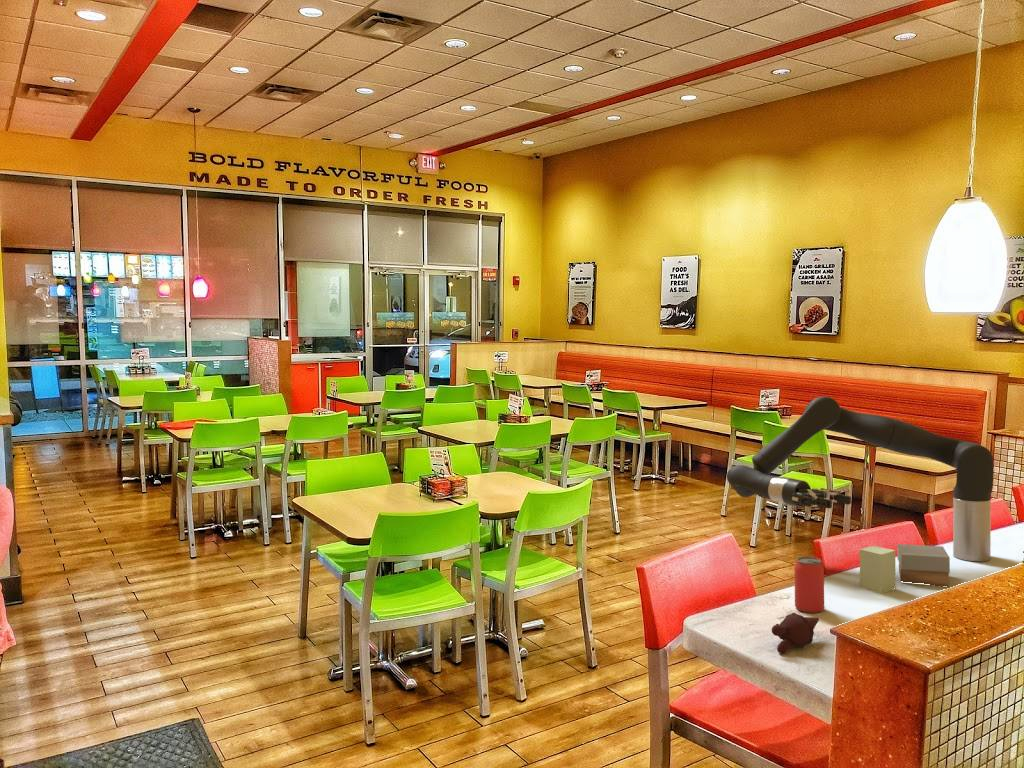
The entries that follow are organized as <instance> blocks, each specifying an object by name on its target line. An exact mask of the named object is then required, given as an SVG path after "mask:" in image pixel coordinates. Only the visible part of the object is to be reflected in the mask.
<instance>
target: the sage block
mask: <svg viewBox="0 0 1024 768" xmlns="http://www.w3.org/2000/svg"><path fill="white" fill-rule="evenodd" d="M896 587H897V586H896V550H895V549H891V548H885V547H881V546H877V545H871V546H867V547H864V548H860V549H859V588H860V589H865V590H868V591H871V592H874V593H878V594H884V593H888V592H891V591H893V590H892V589H894V588H896ZM890 590H891V591H890ZM894 590H895V589H894ZM887 591H888V592H887Z"/></svg>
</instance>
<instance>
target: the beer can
mask: <svg viewBox="0 0 1024 768" xmlns="http://www.w3.org/2000/svg"><path fill="white" fill-rule="evenodd" d="M793 569H794V576H793V577H794V606H795V608H796V609H797V610H798V611H801V612H803V613H808V614H817V613H821V612H823V611H824V610H825V569H824V566H823V562H822V559H820V558H817V557H814V556H813V557H812V556H801V557H797V558H796V561H795V564H794V568H793Z"/></svg>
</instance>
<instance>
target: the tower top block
mask: <svg viewBox="0 0 1024 768" xmlns="http://www.w3.org/2000/svg"><path fill="white" fill-rule="evenodd" d="M896 547H897V548H896V549H897V552H896V553H897V554H896V555H897V560H898V565H899V564H900V566H901V569H902V570H915V571H929V572H944V573H949V574H950V572H951V571H950V567H951V566H950V564H951V563H950V561H951V560H950V559H951V558H950V555H949V554H948V553H947V551H946V549H945V548H944V546H942V545H941V546H939V545H938V546H937V545H926V544H925V545H924V544H923V545H921V544H906V543H905V544H904V543H897V546H896Z"/></svg>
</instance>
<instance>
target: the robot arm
mask: <svg viewBox="0 0 1024 768" xmlns="http://www.w3.org/2000/svg"><path fill="white" fill-rule="evenodd" d="M824 430H826V431H831V432H835V433H839V434H843V435H846V436H850V437H852V438H855V439H858V440H860V441H863V442H865V443H868V444H870V445H872V446H873V445H874V446H876V447H878V448H883V449H886V450H889V451H891V452H895V453H899V454H903V455H907V456H913V457H914V456H915V457H922V458H926V459H931V460H935V461H937V462H939V463H942V464H945V465H947V466H949V467H952V468H954V469H956V483H955V486H954V487H953V491H952V497H953V500H952V501H953V505H952V507H953V513H952V514H953V517H952V519H953V522H952V526H953V528H952V533H953V535H952V536H953V538H952V543H953V544H952V550H953V551H952V553H953V554H952V556H954V557H955V558H957V559H960V560H962V561H963V560H964V561H971V562H987V561H990V560H991V545H992V544H991V543H992V542H991V541H992V540H991V538H992V537H991V533H992V532H991V523H992V522H991V520H992V519H991V517H992V516H991V512H992V510H991V508H992V507H991V494H992V492H993V489H994V475H995V474H994V471H995V470H994V468H995V464H994V457H993V454H992V453H991V450H989V449H988V448H987V447H985V446H984V445H981V444H979V443H977V442H973V441H967V440H963V439H962V440H961V439H956V438H951V437H947V436H943V435H940V434H936V433H934V432H932V431H929V430H928V429H926V428H925V429H924V428H922V427H920V426H917V425H915V424H912V423H909V422H907V421H903V420H900V419H896V418H893V417H888V416H884V415H883V416H882V415H877V414H876V415H875V414H871V413H869V414H868V413H863V412H857V411H852V410H849V409H846V408H843V407H841V406H840V404H839V402H837V400H835V399H834V398H832V397H830V396H818V397H816V398H814V399H812V400H811V401H810V402H808V403H807V405H806V406H805V407H804V412H803V413H802V414H801V416H800V417H798V419H797V420H796V421H795V422H794V423H792V425H790V426H789V427H788V428H786V429H785V430H784V431H783V432H781V433H780V434H779V435H777V436H776V437H775V438H773V439H772V440H771V441H769V442H768V443H767V444H766V445H765V446H763V447H762V448H761V449H760V450H759V451H758V452H756V453H755V454H754V455H753V457H752V458H751V462H752V464H753V467H750V466H747V465H743V464H742V465H741V464H737V465H734V466H732V467H730V468H729V469H728V471H727V472H726V480H727V482H728V484H729V485H730V486H731V488H733V490H734V491H735V492H736V493H737V495H738V496H739V497H742V498H749V497H752V496H755V495H756V496H758V497H760V498H762V499H767V500H771V501H774V502H776V503H780V504H784V505H787V506H792V507H796V508H804V507H808V508H810V507H820V508H825V509H832V508H833V503H839V504H842V505H843V504H844V505H847V506H848V505H851V504H852V497H851V496H850V495H846V494H842V493H841V491H838V490H833V489H828V488H823V487H821V488H820V489H819V488H817V487H816V488H815V487H813V488H811V485H810V484H809V483H808V482H807V481H806V480H800V479H796V478H791V477H786V476H777V475H773V474H772V472H774V471H775V470H777V468H778V467H780V466H781V465H782V464H783V463H785V461H787V460H788V459H789V458H791V457H790V456H792V455H793V454H794V453H795V452H796V451H797V450H798V449H799V448H800V447H801V446H802V445H804V444H805V443H806V442H807V441H808V440H810V439H811V438H812V437H814V436H815V435H817V433H820V432H821V431H824ZM771 474H772V475H771Z"/></svg>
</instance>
